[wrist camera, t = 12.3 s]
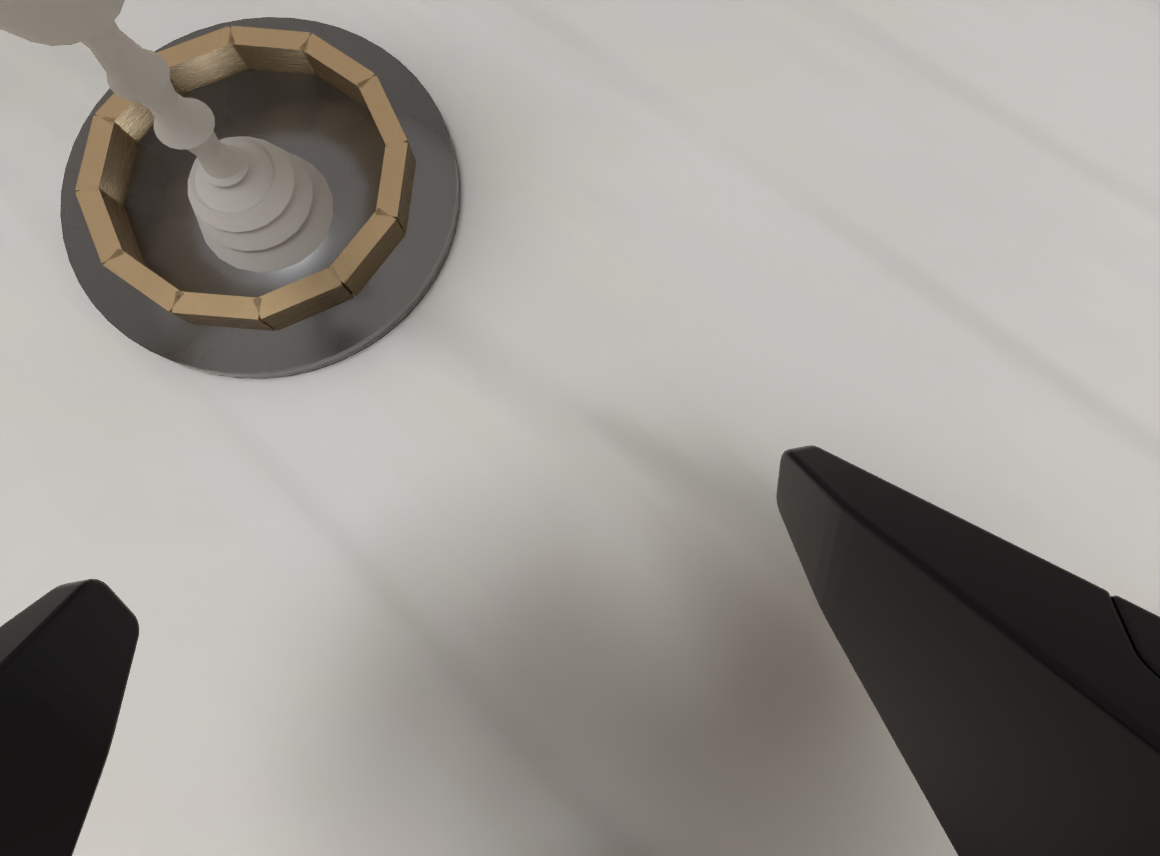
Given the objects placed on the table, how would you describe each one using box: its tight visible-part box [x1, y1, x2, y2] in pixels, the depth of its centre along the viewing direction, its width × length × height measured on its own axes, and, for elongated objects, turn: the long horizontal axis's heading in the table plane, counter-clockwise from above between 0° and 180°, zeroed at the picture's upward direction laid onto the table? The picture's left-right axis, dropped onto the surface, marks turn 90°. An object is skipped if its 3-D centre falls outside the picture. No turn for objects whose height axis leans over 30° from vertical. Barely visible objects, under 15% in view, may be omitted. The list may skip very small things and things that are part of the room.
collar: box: [61, 17, 460, 378], centre depth 22 cm, size 15×15×2 cm
